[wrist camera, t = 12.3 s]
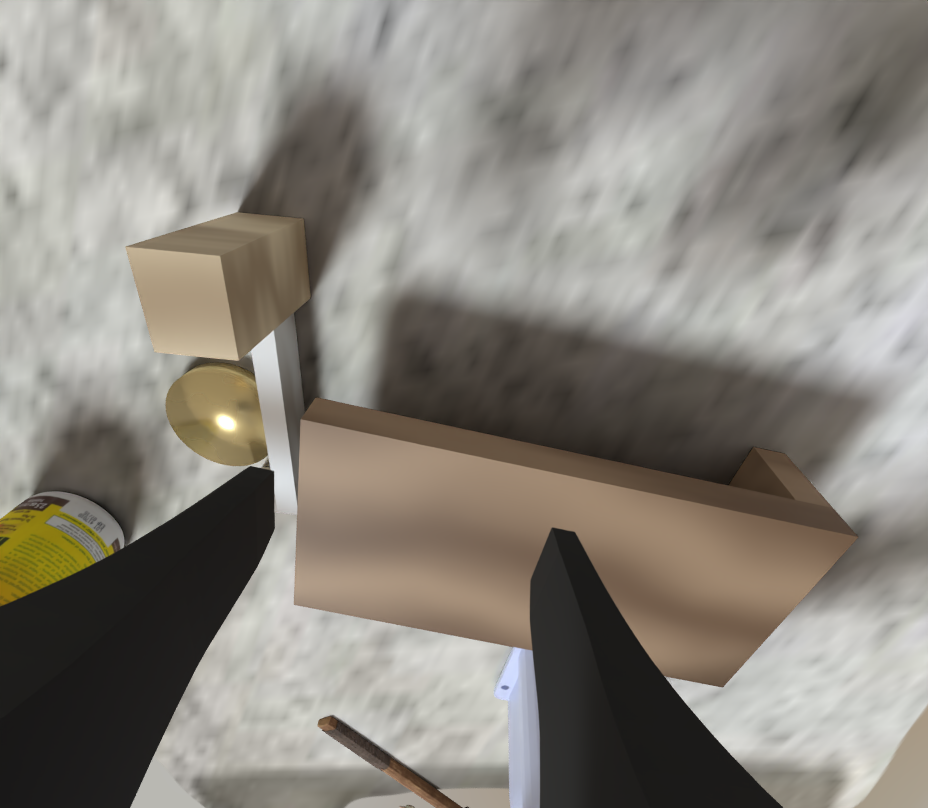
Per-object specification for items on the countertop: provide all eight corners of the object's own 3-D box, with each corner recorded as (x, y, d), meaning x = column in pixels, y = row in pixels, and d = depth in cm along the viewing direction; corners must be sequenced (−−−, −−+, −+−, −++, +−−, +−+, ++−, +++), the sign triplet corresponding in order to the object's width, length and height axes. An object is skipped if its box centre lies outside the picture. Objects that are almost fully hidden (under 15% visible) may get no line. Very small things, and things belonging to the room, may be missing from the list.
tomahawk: (278, 719, 39) (270, 737, 38) (337, 709, 35) (330, 728, 34) (422, 815, 46) (419, 832, 45) (482, 814, 43) (480, 832, 42)
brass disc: (268, 356, 21) (256, 367, 20) (299, 449, 23) (290, 463, 22) (164, 363, 21) (146, 374, 20) (205, 453, 24) (191, 468, 23)
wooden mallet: (327, 488, 24) (279, 587, 19) (264, 482, 24) (199, 578, 19) (303, 218, 17) (219, 255, 12) (217, 210, 17) (97, 244, 12)
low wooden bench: (686, 595, 26) (722, 687, 22) (329, 523, 25) (293, 604, 21) (785, 453, 21) (858, 537, 17) (343, 357, 20) (300, 419, 16)
